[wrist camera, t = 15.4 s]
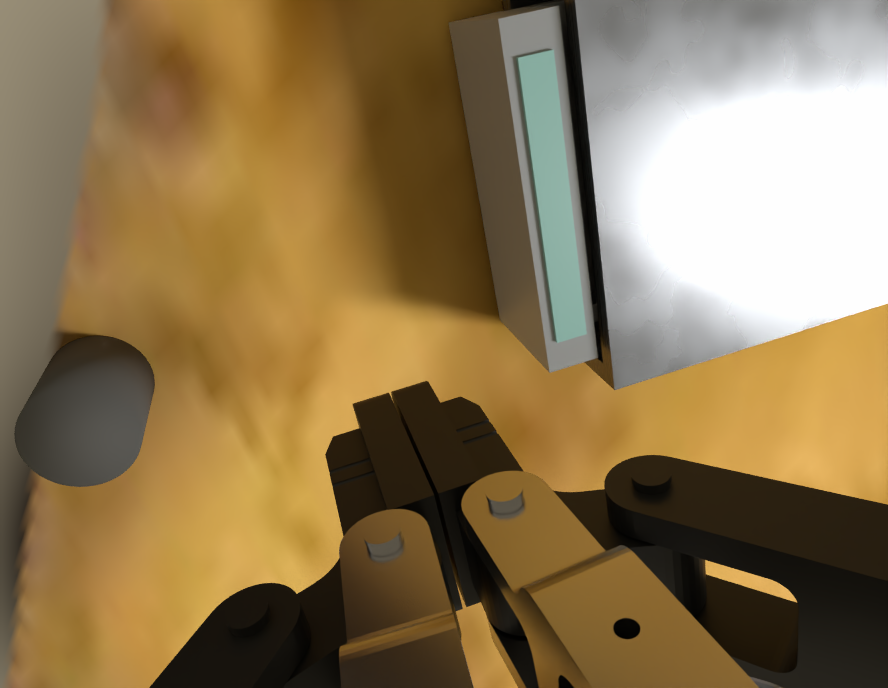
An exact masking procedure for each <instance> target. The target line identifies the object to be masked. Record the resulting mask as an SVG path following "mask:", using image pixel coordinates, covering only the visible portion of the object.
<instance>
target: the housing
mask: <svg viewBox="0 0 888 688" xmlns="http://www.w3.org/2000/svg"><path fill="white" fill-rule="evenodd" d="M502 1H503V8H504V11H507V10H512V9H516V8H521V7H525V6H530V5H534V4H539V3H543V2H548V1H552V0H502ZM564 4H565V13H566V23H567V32H568V41H569V51H570V60H571V69H572V79H573V88H574V97H575V106H576V116H577V125H578V134H579V144H580V153H581V162H582V171H583V181H584V190H585V199H586V209H587V218H588V227H589V236H590V246H591V255H592V264H593V274H594V283H595V292H596V302H597V311H598V320H599V321H596V322H594V326H595V335H596V345H597V354H598V358H595V359H592V360H589V361H586V362H585V363H586V364H587V365H588V366H589V367H590V368H591V369H592V370H593V371H595V372H596V373H597V374H598V375H599V376H600V377H601V378H602V379H603V380H604V381H605V382H606V383H607V384H609V385H610V386H611V387H612V388H613V389H614V390H617V389H620V388H623V387H626V386H629V385H632V384H635V383H639V382H642V381H645V380H648V379H651V378H654V377H657V376H661V375H664V374H667V373H670V372H673V371H676V370H679V369H683V368H686V367H689V366H692V365H695V364H698V363H701V362H705V361H708V360H711V359H714V358H717V357H720V356H723V355H727V354H730V353H733V352H736V351H739V350H742V349H746V348H749V347H752V346H755V345H758V344H761V343H764V342H768V341H771V340H774V339H777V338H780V337H783V336H786V335H790V334H793V333H796V332H799V331H802V330H805V329H808V328H812V327H815V326H818V325H821V324H824V323H827V322H830V321H834V320H837V319H840V318H843V317H846V316H849V315H852V314H856V313H859V312H862V311H865V310H868V309H871V308H874V307H878V306H881V305H884V304H887V303H888V0H564Z"/></svg>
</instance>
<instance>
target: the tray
mask: <svg viewBox="0 0 888 688" xmlns="http://www.w3.org/2000/svg"><path fill="white" fill-rule="evenodd" d="M449 28H450V34H451V40H452V46H453V51H454V57H455V63H456V69H457V74H458V80H459V86H460V92H461V98H462V103H463V109H464V115H465V121H466V126H467V132H468V138H469V144H470V150H471V155H472V161H473V167H474V173H475V178H476V184H477V190H478V196H479V201H480V207H481V213H482V219H483V225H484V230H485V236H486V242H487V248H488V253H489V259H490V265H491V271H492V276H493V282H494V288H495V294H496V300H497V305H498V311H499V317H500V321H501V322H502V323H503V324H504V325H505V326H506V327H507V328H508V329H509V330H510V331H511V332H512V333H513V334H514V335H515V336H516V338H517V339H518V340H519V341H520V342H521V343H522V344H523V345H524V346H525V347H526V348H527V349H528V350H529V351H530V352H531V353H532V355H533V356H534V357H535V358H536V359H537V360H538V361H539V362H540V363H541V364H542V365H543V366H544V367H545V368H546V369H547V370H548V372H549V373H550V372H553V371H557V370H560V369H563V368H566V367H570V366H573V365H576V364H579V363H583V362H586V361H589V360H592V359H595V358H598V354H597V345H596V335H595V326H594V322H596V321H599V320H598V311H597V302H596V292H595V283H594V274H593V264H592V255H591V246H590V236H589V227H588V218H587V209H586V199H585V190H584V181H583V171H582V162H581V153H580V144H579V134H578V125H577V116H576V106H575V97H574V88H573V79H572V69H571V60H570V51H569V41H568V32H567V23H566V13H565V4H564V0H552V1H548V2H543V3H539V4H534V5H530V6H525V7H521V8H516V9H512V10H507V11H499V12H494V13H490V14H485V15H481V16H476V17H472V18H467V19H462V20H458V21H453V22H449Z"/></svg>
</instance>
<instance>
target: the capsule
mask: <svg viewBox="0 0 888 688" xmlns="http://www.w3.org/2000/svg"><path fill="white" fill-rule="evenodd" d="M154 386H155V382H154V374H153V371H152V368H151V366H150V364H149V362H148V361H147V359H146V358H145V357H144V356H143V354H142V353H141V352H140V351H138V350H137V349H136V348H135V347H133V346H132V345H130V344H128V343H126V342H124V341H122V340H119V339H116V338H112V337H106V336H89V337H84V338H80V339H77V340H74V341H72V342H70V343H68V344H66V345H65V346H63V347H62V348H61V349H60V350H58V351H57V352H56V354H55V355H54V356H53V357H52V359H51V361H50V362H49V364H48V366H47V368H46V369H45V371H44V373H43V375H42V376H41V378H40V380H39V382H38V383H37V385H36V387H35V389H34V390H33V392H32V394H31V396H30V397H29V399H28V401H27V403H26V404H25V406H24V408H23V410H22V411H21V413H20V415H19V417H18V419H17V422H16V426H15V443H16V447H17V449H18V452H19V454H20V456H21V457H22V459H23V461H24V462H25V463H26V464H27V465H28V466H29V467H30V468H31V469H32V470H33V471H34V472H36V473H37V474H38V475H40V476H42V477H44V478H45V479H47V480H50V481H52V482H55V483H58V484H62V485H67V486H76V487H84V486H94V485H98V484H102V483H105V482H108V481H110V480H112V479H114V478H116V477H118V476H120V475H121V474H123V473H124V472H125V471H126V470H127V469H128V468H129V467H130V466H131V465H132V464H133V463H134V461H135V460H136V458H137V456H138V454H139V452H140V448H141V445H142V440H143V436H144V431H145V427H146V423H147V418H148V414H149V410H150V405H151V401H152V397H153V392H154Z"/></svg>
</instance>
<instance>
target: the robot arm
mask: <svg viewBox="0 0 888 688" xmlns="http://www.w3.org/2000/svg"><path fill="white" fill-rule="evenodd" d="M391 393H392V399H393V401H392V399H391V396H390V394H389V393H386V394H383V395H380V396H376V397H373V398H370V399H367V400H363V401H360V402H357V403H354V404H353V407H354V411H355V414H356V418H357V421H358V425H359V429H356V430H353V431H350V432H346V433H343V434H340V435H337V436H334V437H333V438H332V440H331V443H330V445H329V447H328V450H327V452H326V454H325V455H326V459H327V464H328V468H329V472H330V477H331V482H332V486H333V491H334V495H335V500H336V504H337V509H338V513H339V518H340V522H341V527H342V531H343V536H344V537H343V539H342V541H341V544H340V548H339V555H340V558H339V560H338V561H337V563H336V564H335V565H334V567H333V568H332V569H331V570H330V571H329V572H328V573H327V574H326V575H325V576H324V577H322V578H321V579H320V580H318V581H317V582H316V583H314V584H313V585H311V586H309V587H308V588H306V589H305V590H303V591H301V592H300V593H298V594H296V593H295V592H294V591H293V590H292V589H291V588H289V587H287V586H285V585H282V584H277V583H264V584H258V585H254V586H251V587H248V588H245V589H243V590H241V591H239V592H237V593H235V594H233V595H232V596H230V597H229V598H227V599H226V600H224V601H223V602H222V603H221V604H220V605H218V606H217V607H216V608H215V610H214V611H213V612H212V613H211V614H210V615H209V616H208V618H207V619H206V620H205V621H204V622H203V624H202V625H201V626H200V627H199V628H198V630H197V631H196V632H195V633H194V634H193V636H192V637H191V638H190V639H189V640H188V642H187V643H186V644H185V645H184V647H183V648H182V649H181V650H180V651H179V653H178V654H177V655H176V656H175V657H174V659H173V660H172V661H171V662H170V663H169V665H168V666H167V667H166V668H165V669H164V671H163V672H162V673H161V674H160V675H159V677H158V678H157V679H156V680H155V681H154V683H153V684H152V685H151V686H150V688H474V687H473V684H472V680H471V676H470V673H469V669H468V665H467V662H466V658H465V655H464V651H463V647H462V644H461V630H460V627H459V623H458V619H457V615H456V611H458V610H460V609H463V608H462V604H461V600H460V596H459V592H458V588H459V590H460V592H461V595H462V597H463V600H464V602H465V605H466V607H468V606H471V605H474V604H476V603H479V602H481V603H482V606H483V608H484V610H485V612H486V615H487V619H488V623H489V627H490V632H491V636H492V639H493V642H494V644H495V646H496V648H497V650H498V651H499V653H500V655H501V657H502V659H503V660H504V662H505V664H506V666H507V668H508V670H509V671H510V673H511V675H512V677H513V679H514V681H515V682H516V684H517V686H518V688H888V505H887V504H882V503H878V502H873V501H868V500H864V499H859V498H855V497H850V496H846V495H841V494H836V493H832V492H827V491H823V490H818V489H814V488H809V487H805V486H800V485H795V484H791V483H786V482H782V481H777V480H773V479H768V478H763V477H759V476H754V475H750V474H745V473H741V472H736V471H731V470H727V469H722V468H718V467H713V466H709V465H704V464H699V463H695V462H690V461H686V460H681V459H677V458H672V457H667V456H660V455H645V456H638V457H634V458H630V459H628V460H625V461H623V462H621V463H619V464H617V465H616V466H615V467H613V468H612V469H611V470H610V471H609V473H608V474H607V476H606V479H605V489H603V490H593V491H584V492H558V491H553V490H552V489H551V488H550V487H549V486H548V484H547V483H546V482H545V481H544V480H543V479H541V478H540V477H538V476H536V475H534V474H531V473H528V472H524V471H523V470H522V468H521V467H520V465H519V464H518V462H517V461H516V459H515V458H514V456H513V455H512V453H511V452H510V450H509V449H508V447H507V446H506V445H505V443H504V442H503V440H502V439H501V437H500V436H499V434H497V432H496V430H495V428H494V427H493V425H492V424H491V422H489V419H488V418H487V416H486V415H485V413H484V412H483V410H482V409H481V408H480V406H479V405H477V404H475V403H473V402H471V401H469V400H467V399H465V398H463V397H458V398H454V399H451V400H448V401H445V402H442V403H440V401H439V400H438V398H437V396H436V394H435V393H434V391H433V389H432V387H431V386H430V384H429V382H428V381H425V382H422V383H418V384H415V385H412V386H409V387H405V388H402V389H399V390H396V391H392V392H391ZM705 560H708V561H711V562H714V563H718V564H721V565H724V566H728V567H731V568H734V569H738V570H741V571H744V572H748V573H751V574H754V575H758V576H761V577H765V578H768V579H771V580H774V581H776V582H778V583H780V584H781V585H783V586H784V587H786V588H787V589H788V590H789V591H790V592H791V593H792V594H793V595H794V597H795V598H796V600H797V603H796V602H793V601H790V600H786V599H783V598H780V597H777V596H773V595H770V594H767V593H764V592H761V591H757V590H754V589H751V588H748V587H744V586H741V585H738V584H735V583H732V582H728V581H725V580H722V579H719V578H715V577H712V576H709V575H706V571H705ZM456 583H457V584H456ZM457 585H458V588H457Z"/></svg>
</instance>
